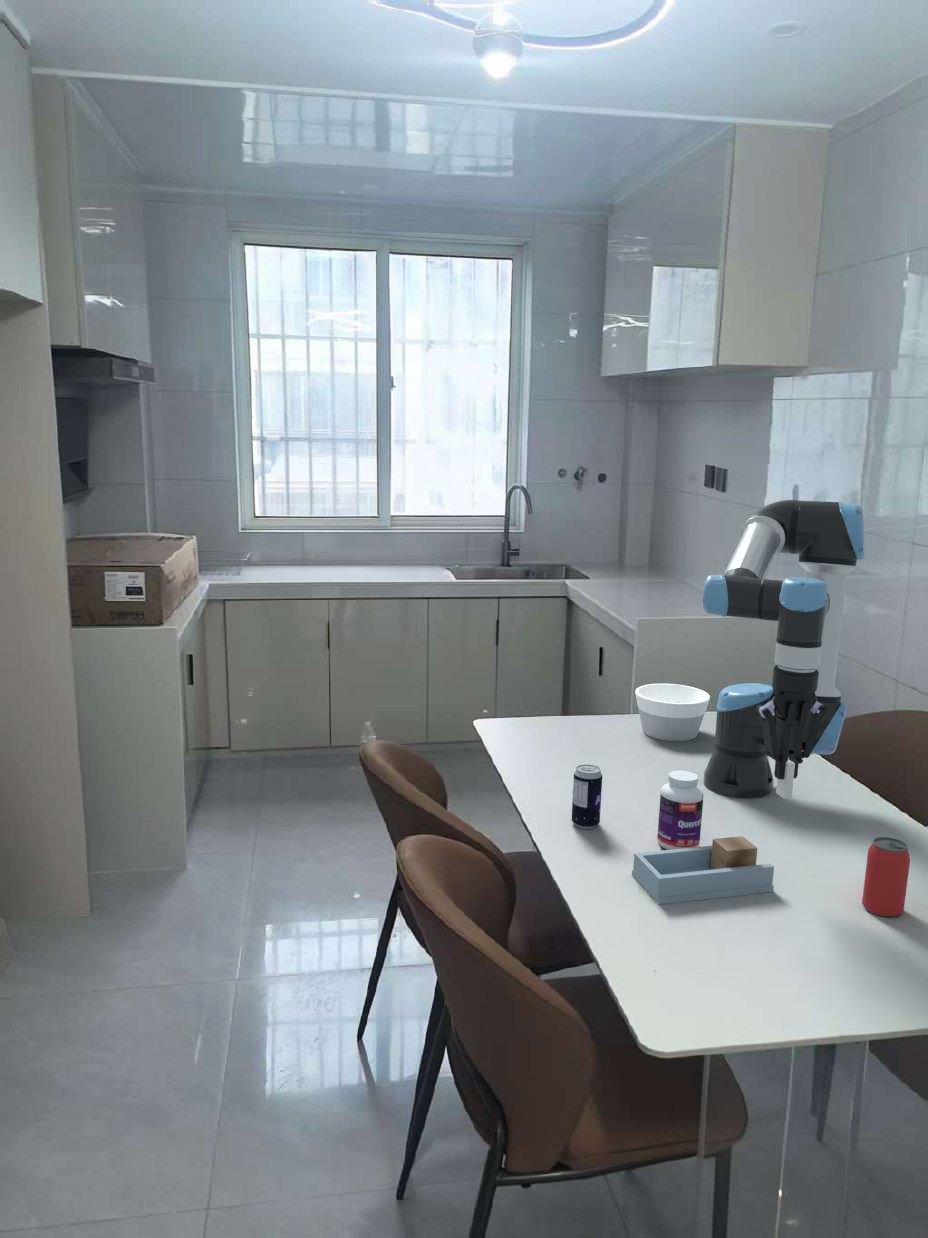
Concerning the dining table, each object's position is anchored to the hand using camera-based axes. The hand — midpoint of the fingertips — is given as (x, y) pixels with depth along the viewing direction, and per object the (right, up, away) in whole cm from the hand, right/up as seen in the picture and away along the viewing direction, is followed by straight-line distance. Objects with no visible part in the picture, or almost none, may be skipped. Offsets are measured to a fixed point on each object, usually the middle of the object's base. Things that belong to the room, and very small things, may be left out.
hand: (783, 795), depth 174 cm
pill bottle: (-16, -13, +15) cm, 25 cm away
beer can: (+14, -18, -8) cm, 24 cm away
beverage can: (-33, -10, +23) cm, 41 cm away
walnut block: (-9, -14, +1) cm, 17 cm away
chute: (-15, -16, 0) cm, 21 cm away
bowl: (-3, +1, +83) cm, 83 cm away
